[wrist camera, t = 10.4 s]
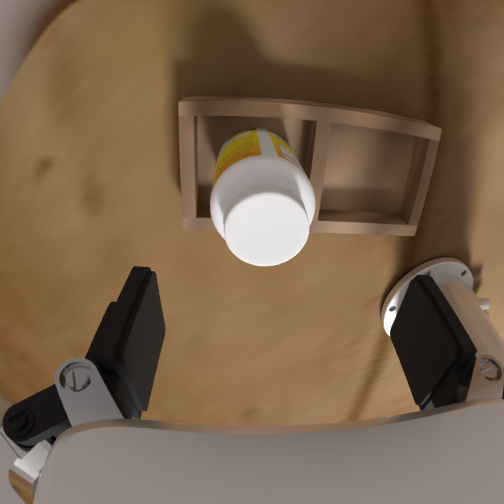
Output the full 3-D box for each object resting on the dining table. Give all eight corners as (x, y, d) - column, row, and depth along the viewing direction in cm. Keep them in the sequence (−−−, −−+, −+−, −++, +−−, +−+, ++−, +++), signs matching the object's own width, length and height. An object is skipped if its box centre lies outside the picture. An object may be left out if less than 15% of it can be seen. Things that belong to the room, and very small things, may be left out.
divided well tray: (422, 120, 22) (441, 129, 19) (400, 219, 27) (414, 236, 25) (185, 96, 21) (178, 101, 18) (188, 211, 26) (183, 229, 24)
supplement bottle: (211, 188, 24) (197, 270, 15) (226, 118, 21) (217, 161, 12) (282, 202, 25) (304, 287, 16) (301, 135, 22) (344, 190, 13)
